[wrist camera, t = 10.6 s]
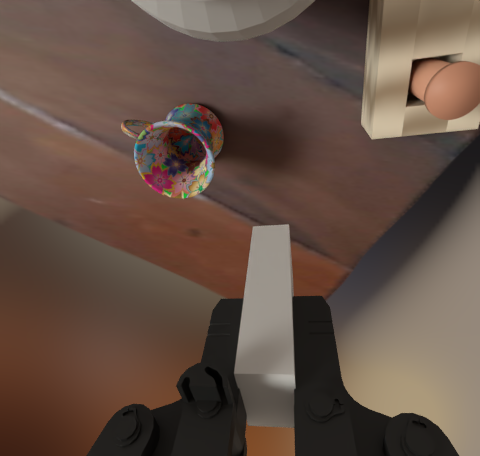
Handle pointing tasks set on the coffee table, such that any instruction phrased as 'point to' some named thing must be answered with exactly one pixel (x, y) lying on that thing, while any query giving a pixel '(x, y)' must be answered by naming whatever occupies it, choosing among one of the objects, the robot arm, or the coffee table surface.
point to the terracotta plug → (446, 86)
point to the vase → (224, 16)
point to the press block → (405, 52)
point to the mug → (178, 150)
